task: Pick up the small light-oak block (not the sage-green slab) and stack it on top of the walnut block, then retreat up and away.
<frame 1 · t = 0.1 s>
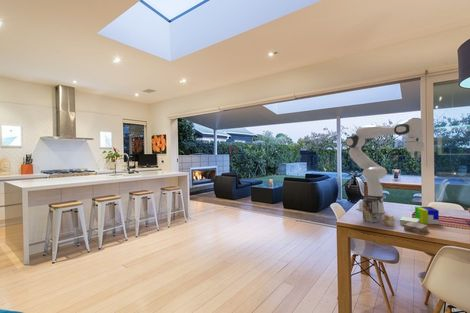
hand: (415, 157, 178), 48 cm above the table, fingers open, 8 cm apart
coffee box: (370, 221, 181), on the table
oak block: (387, 224, 171), on the table
sage block: (409, 224, 170), on the table
walnut block: (415, 230, 158), on the table
puzzle toy: (426, 222, 174), on the table
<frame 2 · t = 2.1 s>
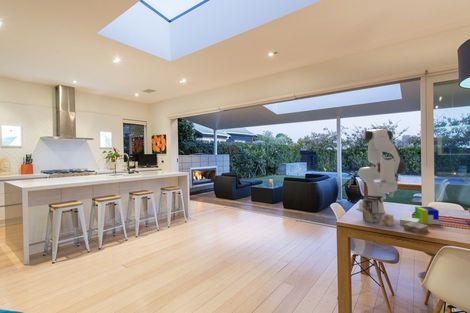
hand: (387, 198, 170), 19 cm above the table, fingers open, 8 cm apart
nothing on the table moved.
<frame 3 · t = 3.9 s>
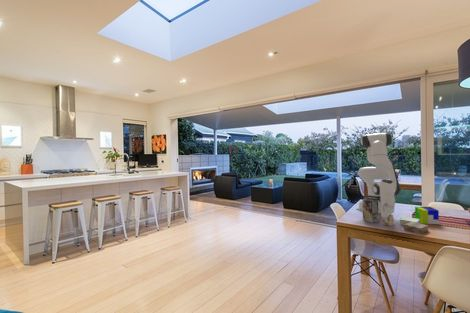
hand: (387, 221, 171), 3 cm above the table, fingers closed on oak block, 6 cm apart
oak block: (387, 224, 171), on the table, touching gripper
everything else where it was.
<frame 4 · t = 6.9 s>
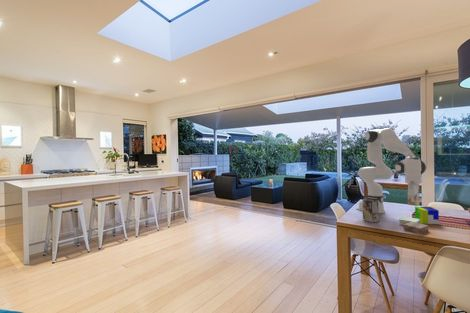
hand: (413, 200, 158), 20 cm above the table, fingers closed on oak block, 5 cm apart
oak block: (413, 204, 158), point 17 cm above the table, touching gripper
everything else where it was.
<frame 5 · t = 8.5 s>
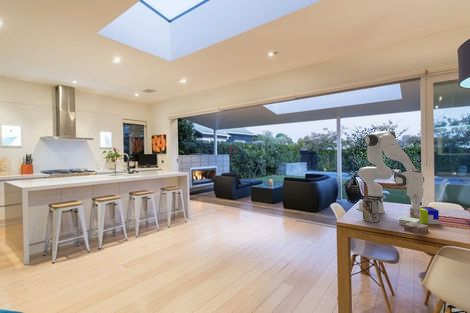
hand: (415, 213, 158), 11 cm above the table, fingers closed on oak block, 5 cm apart
oak block: (415, 217, 158), point 9 cm above the table, touching gripper
everything else where it was.
when the fingers open (8 cm above the table, at t = 9.6 s): oak block drops 2 cm, point 4 cm above the table.
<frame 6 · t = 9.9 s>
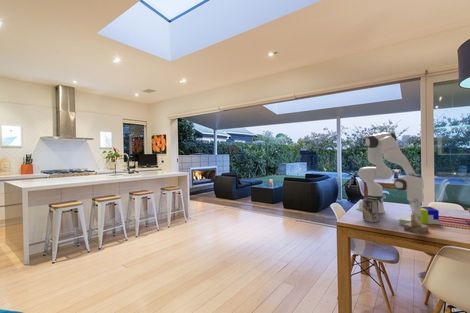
hand: (415, 218, 159), 8 cm above the table, fingers open, 8 cm apart
oak block: (415, 224, 159), point 4 cm above the table
everything else where it was.
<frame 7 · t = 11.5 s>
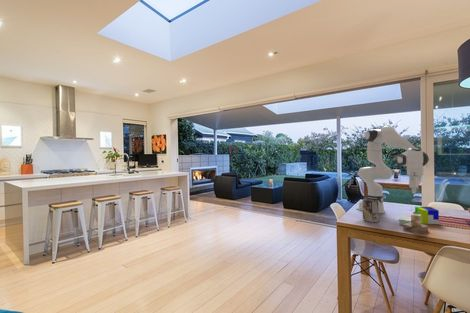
hand: (415, 192, 158), 26 cm above the table, fingers open, 8 cm apart
oak block: (415, 225, 158), point 4 cm above the table, touching walnut block
walnut block: (415, 231, 158), on the table, touching oak block
everything else where it was.
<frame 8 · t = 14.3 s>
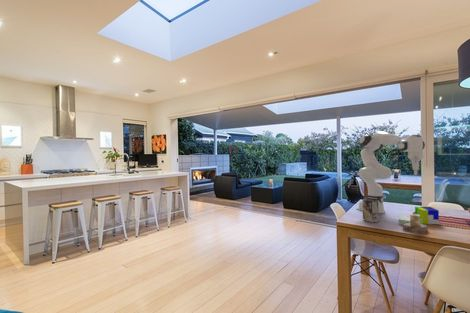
hand: (415, 174, 175), 35 cm above the table, fingers open, 8 cm apart
at the end: oak block inside the target area on the walnut block (0.1 cm from its centre), point 4.0 cm above the walnut block's base; oak block tilted 0°; the gripper is holding nothing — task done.
